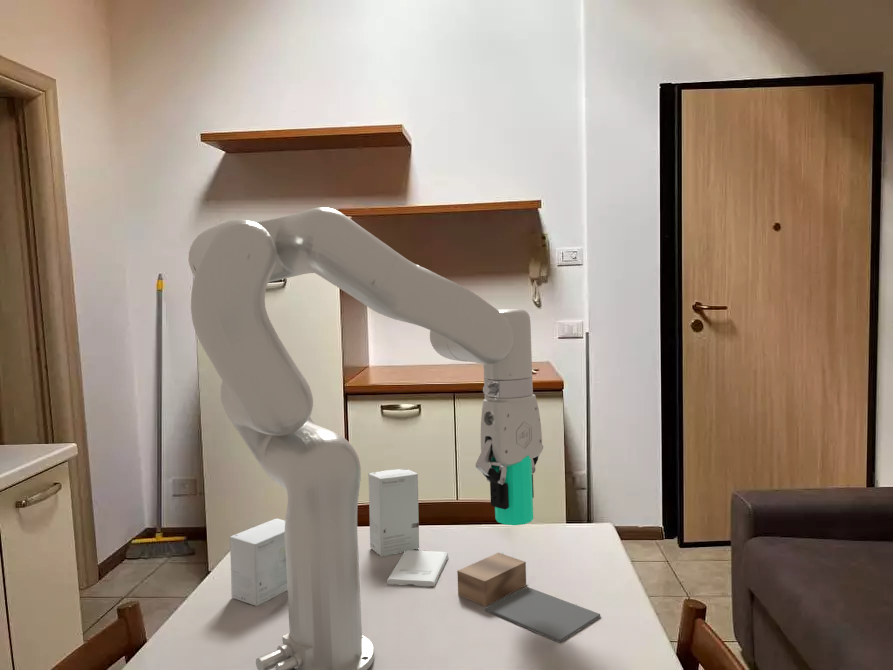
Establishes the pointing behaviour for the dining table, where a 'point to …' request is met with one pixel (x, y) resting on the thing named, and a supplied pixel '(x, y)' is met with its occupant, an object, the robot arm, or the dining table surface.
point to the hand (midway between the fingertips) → (512, 501)
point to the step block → (491, 578)
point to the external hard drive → (418, 568)
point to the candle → (517, 494)
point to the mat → (543, 613)
